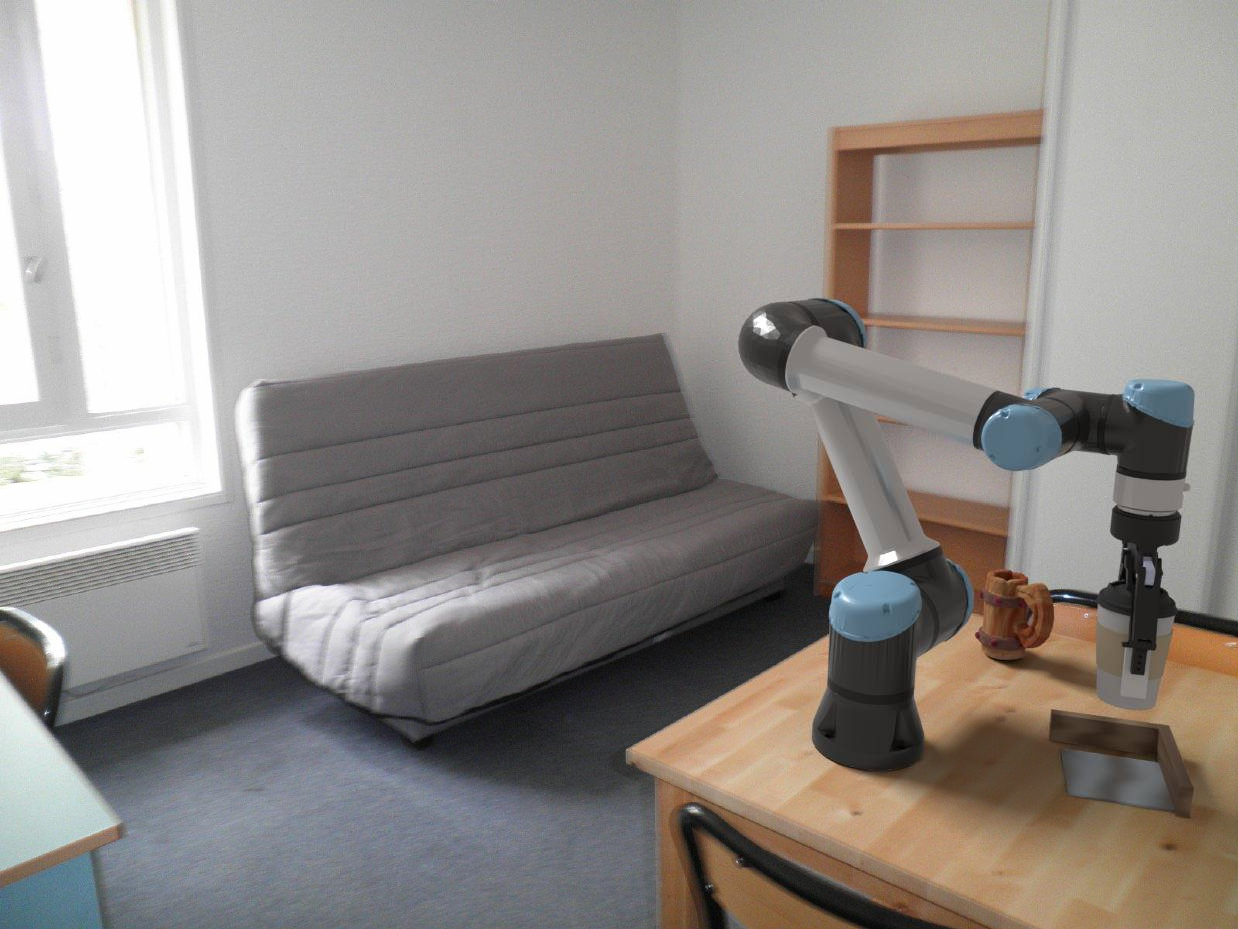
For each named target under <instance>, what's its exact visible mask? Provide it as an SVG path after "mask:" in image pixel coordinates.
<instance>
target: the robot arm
mask: <svg viewBox="0 0 1238 929" xmlns="http://www.w3.org/2000/svg"><path fill="white" fill-rule="evenodd" d="M860 316H861V315H859V314H858V313H857V311H856V310H855V309H854V308H852V307H851V306H850V305H848V303H847V304H846V303H845V302H842V301H840V300H838V299H833V298H832V299H831V298H825V297H812V298H808V299H803V300H792V301H777V302H770V303H767V304H765V305H762V306H759V307H758V308H757V309H755V310H754V311H753V312H752V313H751V314H750V315H749V316H748V317H747V318H746V320H745V321H744V323H743V324H742V325H741V328H740V331H739V334H738V342H737V346H738V350H737V351H738V353H739V357H740V361H741V362H742V364H743V367H744V368H745V369H746V371H747V372H748V373H749V374H750V375H752V377H754V378H755V379H757V380H758V381H760V382H762V383H764V384H766V385H770V386H771V387H772V386H773V387H775V388H778V389H781V390H783V391H787V392H790V393H791V395H792V396H793V400H794V401H795V402H797V403H800V404H802V405H805V406H806V407H807V408H808V409H809V412H810V414H811V418H812V419H813V423H814V425H815V427H816V429H817V432H818V434H819V437H820V440H821V441H822V444H823V446H824V449H825V451H826V454H827V456H828V459H829V461H830V464H831V467H832V469H833V471H834V474H835V476H836V479H837V480H838V482H837V483H839V486H840V488H841V491H842V494H843V496H844V499H845V501H846V504H847V506H848V508H849V511H850V514H851V516H852V519H853V520H854V523H855V526H856V528H857V531H858V533H859V534H858V535H859V536H860V538H861V541H862V544H863V546H864V548H865V550H866V554H867V560H866V563H865V565H864V567H863V569H862V570H863V572H862V571H859V572H856V573H853V574H851V575H848V576H846V577H844V578H842V579H841V580H840V581H839V582H838V583H837V584H836V585H835V587H834V589H833V591H832V594H831V600H830V602H831V603H830V605H829V610H828V611H829V612H828V619H829V627H828V628H829V631H828V632H829V634H828V655H827V658H828V659H827V677H826V678H827V682H826V688H825V691H824V693H823V696H822V698H821V701H820V703H819V705H818V708H817V710H816V713H815V715H814V717H813V720H812V726H811V727H812V728H811V741H812V744H813V746H814V747H815V749H816V750H817V751H819V753H821V754H822V755H824V757H826V758H828V759H830V760H832V761H834V762H836V763H838V764H842V765H844V766H847V767H851V768H855V769H859V770H867V771H893V770H900V769H903V768H907V767H910V766H912V765H914V764H915V763H917V762H918V761H920V760H921V759H922V757H923V755H924V752H925V751H924V750H925V739H926V738H925V731H924V727H923V724H922V720H921V716H920V714H919V709H918V706H917V702H916V700H915V688H916V687H915V686H916V684H915V683H916V674H917V662H918V658H920V657H922V655H923V656H924V655H925V654H926V653H928V652H929V651H931V650H932V649H935V647H937V646H939V645H940V644H942V643H944V642H948V641H949V640H951V639H952V638H954V637H955V636H956V635H957V634H958V633H959V632H960V631H961V629H963V628H964V626H966V625H967V623H968V622H969V620H970V618H971V616H972V613H973V611H974V607H975V606H974V605H975V591H974V588H973V584H972V581H971V579H970V577H969V575H968V574H967V573H966V571H965V570H964V569H963V567H961V566H960V565H959V564H958V563H954V562H953V561H952V560H951V559H949V558H946V554H945V552H944V550H943V547H942V546H941V543H940V542H939V541H937V540H935V539H932V538H930V537H928V536H927V535H926V534H925V532H924V530H923V528H922V525H921V523H920V521H919V518H918V515H917V513H916V510H915V508H914V506H913V503H912V502H911V498H910V497H909V494H908V491H907V488H906V487H905V484H904V481H903V479H902V476H901V475H900V471H899V470H898V468H897V465H896V463H895V460H894V458H893V455H892V453H891V450H890V448H889V445H888V443H887V439H886V438H885V436H884V434H883V431H882V428H881V425H880V423H879V421H878V418H877V416H876V415H878V416H881V417H883V418H887V419H890V420H892V421H895V422H897V423H901V424H904V425H906V426H910V427H912V428H914V429H917V430H921V431H924V432H927V433H929V434H932V435H935V436H938V437H941V438H944V439H947V440H949V441H953V442H956V443H959V444H961V445H964V446H966V447H969V448H973V449H975V450H978V451H981V452H983V453H984V454H985V456H986V457H987V458H988V459H989V460H990V461H991V462H992V463H993V464H994V465H995V466H996V467H999V468H1001V469H1003V470H1006V471H1010V472H1023V471H1030V470H1035V469H1038V468H1039V467H1043V466H1045V465H1046V464H1048V463H1050V462H1051V461H1054V460H1055V459H1057V458H1060V457H1063V456H1065V455H1067V454H1070V453H1072V452H1084V453H1091V454H1099V455H1105V456H1117V457H1116V459H1117V463H1116V469H1115V474H1114V482H1113V493H1112V501H1113V503H1115V504H1116V505H1114V506H1113V507H1112V508H1111V509H1112V510H1111V519H1110V525H1109V526H1110V527H1109V533H1110V534H1111V536H1112V537H1113V538H1115V539H1116V540H1118V541H1121V545H1122V546H1121V553H1120V564H1119V570H1118V577H1117V581H1120V580H1124V584H1126V590H1127V591H1129V592H1130V596H1131V603H1130V606H1131V613H1130V620H1129V639H1128V642H1121V645H1122V647H1125V654H1124V663H1123V672H1122V681H1121V690H1120V694H1121V696H1126V697H1134V698H1142V699H1146V691H1147V683H1148V674H1149V666H1150V657H1151V651H1155V650H1156V647H1157V644H1156V636H1157V623H1158V610H1159V597H1160V587H1162V578H1163V576H1164V571H1163V568H1162V567H1163V565H1162V564H1163V559H1162V558H1161V557H1159V552H1158V548H1161V547H1168V546H1172V545H1175V544H1177V543H1178V541H1179V539H1180V532H1181V527H1182V526H1181V524H1182V514H1181V513H1180V512H1179V510H1181V509H1182V508H1183V505H1184V504H1183V503H1184V492H1190V490H1191V485H1190V483H1188V482H1187V483H1186V478H1187V473H1188V472H1187V471H1188V470H1187V469H1188V463H1189V457H1190V450H1191V442H1192V435H1193V428H1194V426H1195V420H1194V411H1195V394H1196V393H1195V390H1194V388H1193V387H1192V386H1191V385H1189V384H1188V383H1186V382H1183V381H1179V380H1178V381H1177V380H1171V379H1158V378H1157V379H1151V378H1138V379H1132V380H1128V381H1127V383H1126V384H1125V386H1124V391H1122V393H1117V394H1115V393H1111V394H1110V393H1102V392H1092V391H1081V390H1073V389H1072V390H1071V389H1066V388H1065V389H1064V388H1061V387H1031V388H1029V389H1027V390H1026V391H1025V392H1024V394H1023V396H1022V397H1021V396H1019V395H1015V394H1012V393H1008V392H1005V391H1001V390H999V389H996V388H993V387H989V386H986V385H984V384H980V383H977V382H974V381H970V380H966V379H963V378H961V377H958V376H954V375H950V374H947V373H945V372H941V371H938V370H935V369H931V368H928V367H924V366H922V365H918V364H917V363H916V364H915V363H912V362H909V361H906V360H904V359H899V358H896V357H892V356H889V355H886V354H882V353H880V352H877V351H873V350H870V349H867V348H866V346H867V344H868V335H867V330H866V326H865V324H864V321H863V320H862V318H861V317H860ZM1145 639H1147V640H1145Z"/></svg>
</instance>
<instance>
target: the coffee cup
mask: <svg viewBox="0 0 1238 929" xmlns="http://www.w3.org/2000/svg"><path fill="white" fill-rule="evenodd" d="M1095 600H1096V601H1095V602H1096V604H1097V616H1096V619H1095V626H1096V628H1095V629H1096V630H1095V638H1096V639H1095V640H1096V641H1095V663H1096V695H1097V697H1098V699H1099V700H1101V701H1102V702H1104V703H1106V704H1107V705H1109V706H1113V707H1116V708H1119V709H1123V710H1129V711H1148V710H1151V709H1153V708H1155V707H1156V703H1157V699H1158V696H1159V691H1160V685H1161V681H1162V677H1163V676H1164V672H1165V669H1166V666H1167V660H1168V655H1169V652H1170V647H1171V642H1172V638H1173V633H1174V628H1173V626H1174V621H1175V617H1176V615H1177V614H1178V612H1179V610H1178V607H1177V605H1176V604H1177V603H1176V601H1175V600H1174V599H1173V598H1172V597H1171V596H1170V594H1169V592H1168V591H1167V589H1165V588H1163V587H1162V586H1160V597H1159V610H1158V623H1157V636H1156V644H1157V647H1156V650H1155V651H1151V657H1150V666H1149V674H1148V683H1147V691H1146V699H1142V698H1134V697H1126V696H1121V694H1120V690H1121V681H1122V672H1123V663H1124V654H1125V647H1122V645H1121V642H1128V639H1129V620H1130V613H1131V606H1130V603H1131V596H1130V592H1129V591H1127V590H1126V584H1124V580H1120V581H1118V580H1114V581H1112V582H1108V584H1107V586H1106V587H1103V588H1101V589H1100V591H1099V592H1098V596H1097V597H1096V599H1095ZM1145 640H1147V639H1145Z"/></svg>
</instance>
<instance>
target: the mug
mask: <svg viewBox="0 0 1238 929" xmlns="http://www.w3.org/2000/svg"><path fill="white" fill-rule="evenodd" d="M986 576H987V577H986V584H985V585H984V586H983V588H982V590H981V591H979V593H978V596H979V598H981V599H982V600H983V601H984V602H983V618H982V626H980V627H979V628H978V630H977V631H976V632H975V633H974V637H975V638H976V639H977V641H978V642H979V643H981V645H980V647H981V650H982V652H983V653H984V654H985V655H986V656H988V657H990V658H992V659H994V660H995V659H996V660H1001V661H1003V660H1004V661H1012V660H1013V661H1015V660H1018V659H1022V658H1024V657H1025V656H1026V649H1029V650H1030V649H1034V648H1035V649H1037V648H1039V647H1041V646H1042V645H1044V643H1046V642H1047V640H1048V639H1049V638H1050V636H1051V633H1052V630H1053V628H1054V622H1055V607H1054V601H1053V598H1052V595H1051V593H1050V591H1049V588H1048V587H1047V585H1046V584H1045V583H1043V582H1035V583H1030V584H1029V578H1028V576H1026V575H1025V574H1024V573H1022V572H1017V571H1015V572H1013V571H1012V570H1010V569H1006V568H1005V569H1002V568H1001V569H1000V568H999V569H998V568H996V569H995V570H992V569H990V571H989V572H988V573H987V575H986ZM1028 608H1029V609H1030V610H1031V611H1032V617H1031V622H1030V624H1028V623H1027V618H1028V612H1029V610H1028Z"/></svg>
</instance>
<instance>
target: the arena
mask: <svg viewBox="0 0 1238 929" xmlns="http://www.w3.org/2000/svg"><path fill="white" fill-rule="evenodd" d="M1048 740H1049V741H1053V742H1060V743H1067V744H1073V745H1079V746H1087V747H1094V748H1102V749H1107V750H1112V751H1113V750H1114V751H1122V752H1128V753H1135V754H1141V755H1147V756H1148V755H1149V756H1153V757H1155V759H1156V761H1149V760H1142V759H1135V758H1132V757H1130V758H1129V757H1124V756H1123V757H1122V756H1117V755H1109V754H1103V753H1097V752H1090V751H1082V750H1075V749H1071V748H1070V749H1069V748H1063V747H1060V749H1059V750H1060V756H1061V762H1062V767H1063V768H1062V769H1063V774H1064V780H1065V786H1066V791H1067V792H1066V793H1067V796H1069V797H1070V796H1071V797H1078V798H1083V799H1089V800H1096V801H1102V802H1107V803H1114V804H1119V805H1127V806H1133V807H1138V808H1139V807H1140V808H1144V809H1145V808H1146V809H1150V810H1156V811H1163V812H1169V813H1174V814H1175V816H1176V817H1181V818H1186V819H1190V818H1191V813H1192V807H1193V806H1192V805H1193V799H1194V791H1195V787H1194V784H1193V783H1192V780H1191V776H1190V774H1189V773H1188V770H1187V768H1186V765H1185V763H1184V759H1183V758H1182V754H1181V751H1180V749H1179V747H1178V745H1177V741H1176V739H1175V737H1174V735H1173V732H1172V729H1171V727H1170V725H1168V724H1162V723H1155V722H1147V721H1139V720H1131V719H1125V718H1119V717H1112V716H1103V715H1096V714H1090V713H1089V714H1088V713H1081V712H1080V713H1079V712H1074V711H1067V710H1060V709H1053V708H1051V709H1050V717H1049V728H1048Z"/></svg>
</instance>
